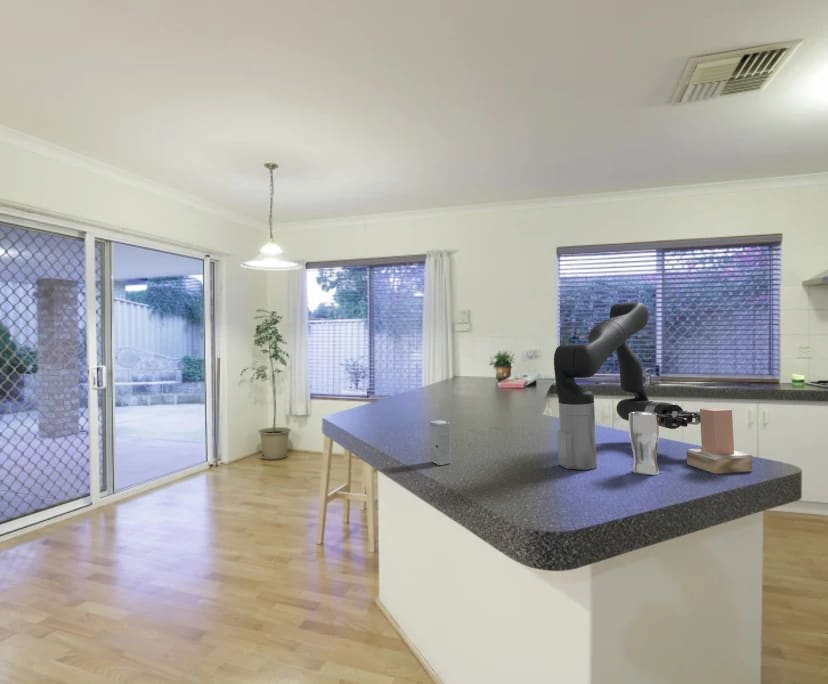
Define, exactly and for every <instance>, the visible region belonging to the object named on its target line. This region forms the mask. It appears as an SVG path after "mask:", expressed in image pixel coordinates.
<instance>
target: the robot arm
mask: <svg viewBox="0 0 828 684" xmlns="http://www.w3.org/2000/svg"><path fill="white" fill-rule="evenodd" d="M609 310H610V311H609V318H607V319H604V320H602V321H600V322H598V323H597V324H596V325H594V327H592V329H591V330H590V331H589V333H588V336H587V340H588V341H587V342H588V343H574V344H571V343H570V344H562V345H561V344H560V345H559V346H557V347H556V349H555V351H554V355H553V369H554V379H555V389H556V395H557V399H558V400H557V401H558V420H559V423H558V424H559V429H557V430H556V441H557V463H558V465H559V466H561V467H563V468H564V469H567V470H594V469H597V467H598V461H597V460H598V458H597V457H598V456H597V437H596V435H597V434H596V420H595V419H596V418H595V416H596V415H595V414H596V413H595V412H596V411H595V397H594V396H595V395H594V393H593V392H592V391H590V390H587V389H586V388H583V387H581V386H580V385H579V384H577V383H576V380H575V379H586V378H587V379H588V378H590V377H593V376H594V375H595V374H596V373H597V372H598V371H599V370H600V368H601V367H602V366H603V364H604V363H605V362H606V360H608V359H609V357H610V356H611V355H612V354H613V353H614V352H615V351H616V355H617V361H618V368H619V379H620V380H619V381H620V388H621V390H622V391H623V392H625V393H632V394H633V395H634V397H632V398H625V399H621V400H619V401H618V402H617V405H616V413H617V415H618V416H619V417H620V419H622V420H624V421H628V422H629V413H630V412H654V413H657V417H658V424H659V427H662V428H665V429H669V430H676V429H678V428H680V427H683V428H685V427H688V425H694V426H695V425H696V426H698V425H700V424H701V423H700V411H688V410H684V409H683V408H682V406H680V405H679V404H676V403H671V402H665V401H664V402H663V401H655V400H649V398H648V395H647V391H646V389H645V386H644V376H643V367H642V363H641V361H640V360H639V358H638V356H637V355H636V353H635V352H634V351H633V350H632V348H631V346H629V344H628V342H627V340H629V338H630V337H632V336H633V335H635V334H637V333H638V332H640V331H641V330H643V329H644V328H645V327H646V325H647V323H648V321H649V316H650V313H649V309H648V308H647V306H646V304H644V303H642V302H636V301H634V302H622V303H615V304H613V305H612V306H611V307H610V309H609ZM693 419H694V421H693Z"/></svg>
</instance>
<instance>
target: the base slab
mask: <svg viewBox="0 0 828 684" xmlns="http://www.w3.org/2000/svg"><path fill="white" fill-rule="evenodd" d="M686 460H687V463H686V464H687V465H689V466H691V467H694V468H697V469H700V470H704V471H706V472H709V473H712V474H727V473H728V474H729V473H743V472H744V473H745V472H753V463H752V461H753V459H752V454H749V453H745V452H741V451H737V450H734V454H717V455H716V454H712V453H709V452H705V451H702V447H701V448H688V449H686Z"/></svg>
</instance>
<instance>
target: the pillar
mask: <svg viewBox="0 0 828 684" xmlns="http://www.w3.org/2000/svg"><path fill="white" fill-rule="evenodd" d="M699 412H700V423H699V424H700V439H701V440H700V441H701V448H702V451H705V452H709V453H712V454H716V455H717V454H734V451H735V442H734V425H733V424H734V423H733V410H732V409H727V408H720V407H710V408H699Z"/></svg>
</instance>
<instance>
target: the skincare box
mask: <svg viewBox="0 0 828 684" xmlns="http://www.w3.org/2000/svg"><path fill="white" fill-rule="evenodd" d="M451 424H452V423H451V422H449V421H446V420H442V419H440V420H432V421H429V461H430V460H432V461H434V462H435V463H438V464H440V463H450V462H452V458H451V457H452V454H451V453H452V451H451V449H452V448H451V445H452V443H451V442H452V441H451V439H452V437H451V434H452V432H451V431H452V430H451V428H452V427H451Z"/></svg>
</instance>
